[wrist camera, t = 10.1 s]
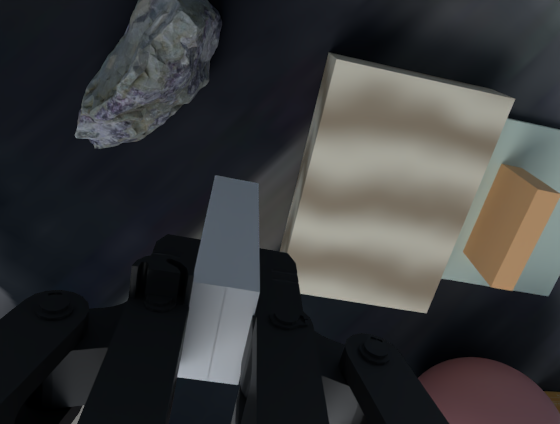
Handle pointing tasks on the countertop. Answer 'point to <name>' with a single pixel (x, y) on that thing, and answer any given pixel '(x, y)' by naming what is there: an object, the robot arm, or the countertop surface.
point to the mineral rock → (150, 71)
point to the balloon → (487, 393)
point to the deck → (388, 181)
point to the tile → (509, 226)
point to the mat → (556, 235)
